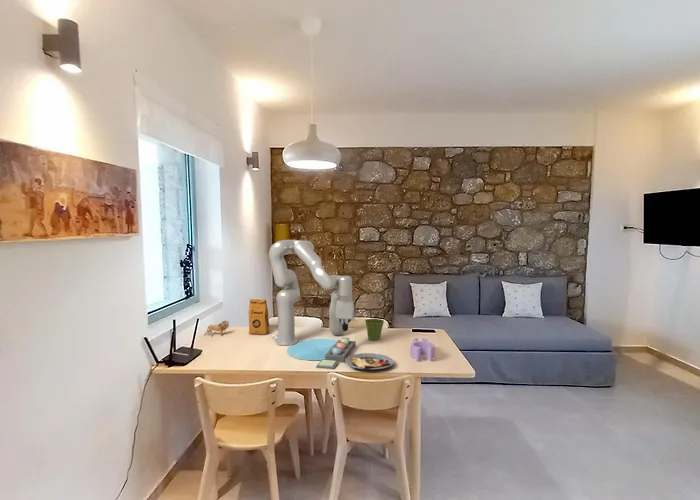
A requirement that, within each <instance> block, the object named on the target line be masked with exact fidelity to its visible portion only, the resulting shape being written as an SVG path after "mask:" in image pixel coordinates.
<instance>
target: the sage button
mask: <svg viewBox="0 0 700 500" xmlns="http://www.w3.org/2000/svg"><path fill="white" fill-rule="evenodd" d="M340 340H341V342H345V343H346V345H349V341H350V337H340Z"/></svg>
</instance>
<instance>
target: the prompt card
mask: <svg viewBox="0 0 700 500" xmlns="http://www.w3.org/2000/svg"><path fill="white" fill-rule="evenodd" d="M339 363H340V362H339V361H332V360H325V359H321V360H320V361H319V362H318V363H317V365H316V366H315V368H318V369H319V368H320V369H326V370H327V369H330V370H335V368H336V367H337V366H338V365H339Z"/></svg>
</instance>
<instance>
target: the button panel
mask: <svg viewBox="0 0 700 500" xmlns="http://www.w3.org/2000/svg"><path fill="white" fill-rule="evenodd" d="M338 342H341V339H339V340H337V341H336V342H335V343H334V345H332V347H331V348H330V349H329V350H328V351H327V352H326V354H325V355H324V356H325V357H324V360H332V361H339V363H346V362H345V358H347V357H349V356H351V353H352V352H353V351H354V349H355V348H356V346H357V345H356V341H355V340H349V345H346V350H342V355H333V354H332V348H333V347H337V343H338Z"/></svg>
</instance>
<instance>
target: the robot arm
mask: <svg viewBox="0 0 700 500" xmlns="http://www.w3.org/2000/svg"><path fill="white" fill-rule="evenodd" d="M268 252H269V253H268V256H269V257H268V258H269V260H270V261H269V262H270V265H271V270H272V274H273V278H274V283H275V285H276V286H277V287H279V288H284V289H282V290H279V292H277V294H276V298H275V299H276V300H275V301H276V306H277V333H278V334H272V335H271V338H272V339H275V344H276V345H278V346H293V345H295V344H297V343H298V339H297V338H295V335H296V334H295V330H296V329H295V307H294V303H296V302H298V301H299V300H300V297H301V290H300V285H299V281H298V277H297V274H296V273H295V271H294V270H292V269H289V268H288V266H287V265H288V264H287V262H286V259H285V257H284V256H285V255H292V254H293V255H297V256H298V257H299V258H300V259H301V261H302V262H303V263H304V264H305V265H306V266H307V268H309V270H310V273H311V275H312V277H313V279H314V280H315V281H316V282H317V284H319V286H320V287H321V288H322V289H324V290H327V291H331V290H334V289H337V288H338V289H337V290H338V296H336V298H338V300H337V303H336V313H335V316H336V320H339V321H340V322H341V323H342V329H343V331H345V332H347V331H348V330H349V324H350V322H354V321H355V319H356V318H355V306H354V300H353V292H352V290H353V286H352V284H353V282H352V281H353V279H352V276H350V275H338V274H331V275H329V274H328V273H327V272H326V271H325V269H324V267H323V266H322V257H320V256H319V255H318V254H317V253H316V252H315V246H314V243H312V242H311V241H310V240H298V239H284V240H283V239H282V240H278V241H276V242H275V243H273V244H272V245H271V246H270V248H269V251H268ZM344 319H346V323H345V320H344Z"/></svg>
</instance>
